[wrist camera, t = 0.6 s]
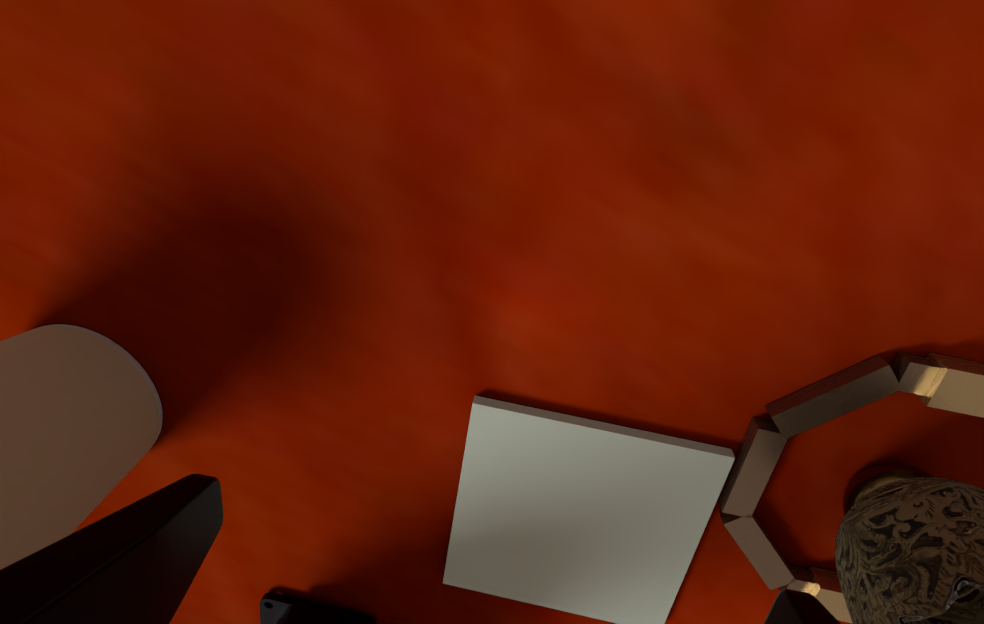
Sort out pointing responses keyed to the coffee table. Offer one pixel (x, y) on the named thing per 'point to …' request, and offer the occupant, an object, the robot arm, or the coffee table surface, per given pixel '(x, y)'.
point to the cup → (911, 548)
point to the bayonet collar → (852, 388)
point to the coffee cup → (66, 431)
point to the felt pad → (579, 512)
